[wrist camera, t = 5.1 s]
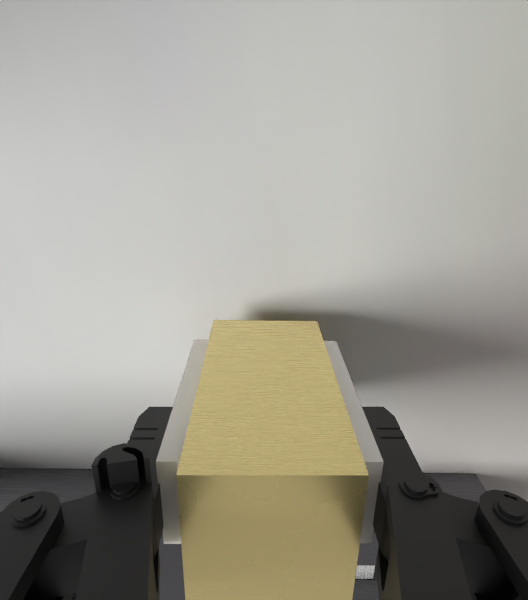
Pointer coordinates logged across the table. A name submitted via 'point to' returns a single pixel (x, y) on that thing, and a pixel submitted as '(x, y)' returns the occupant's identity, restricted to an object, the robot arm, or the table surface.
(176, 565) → the grey slotted block
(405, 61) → the table surface
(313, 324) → the tall sand-colored cuboid
